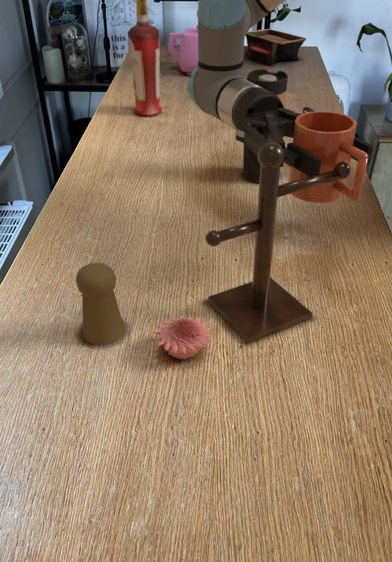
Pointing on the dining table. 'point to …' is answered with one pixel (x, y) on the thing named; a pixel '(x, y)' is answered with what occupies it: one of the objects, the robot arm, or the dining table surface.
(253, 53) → the dark brown boxy piece
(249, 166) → the travel mug
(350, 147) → the mug
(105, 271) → the olive brown pawn
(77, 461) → the dining table surface
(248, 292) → the mug tree
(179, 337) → the flower
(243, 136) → the robot arm
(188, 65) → the teapot
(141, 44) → the liquor
